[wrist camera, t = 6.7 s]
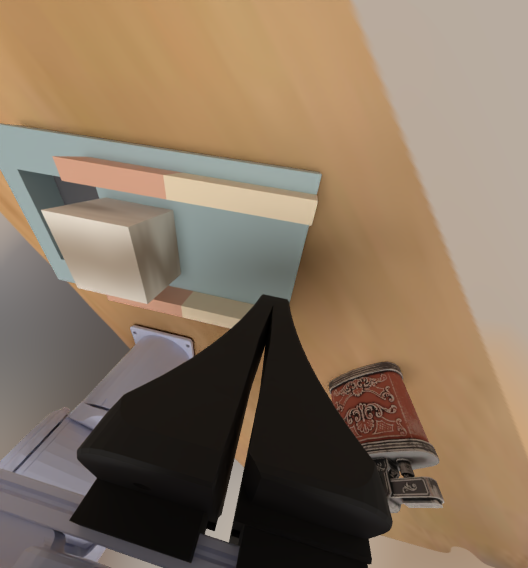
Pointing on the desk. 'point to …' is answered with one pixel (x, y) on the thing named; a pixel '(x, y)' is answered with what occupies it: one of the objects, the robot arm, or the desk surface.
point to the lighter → (388, 432)
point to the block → (117, 246)
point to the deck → (175, 213)
